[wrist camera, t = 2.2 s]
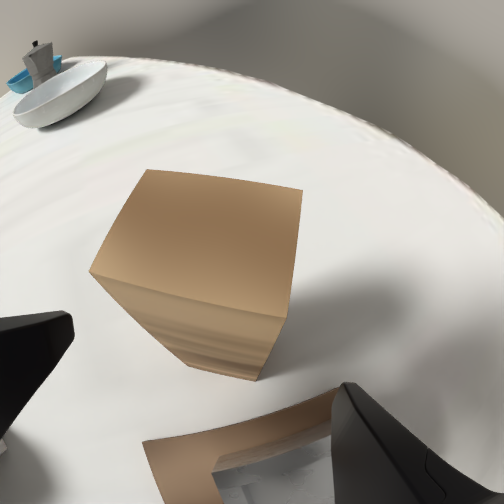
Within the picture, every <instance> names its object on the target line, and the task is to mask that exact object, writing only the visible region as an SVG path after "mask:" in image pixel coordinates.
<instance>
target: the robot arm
mask: <svg viewBox="0 0 504 504" xmlns="http://www.w3.org/2000/svg"><path fill="white" fill-rule="evenodd" d="M74 337H75V333H74V326H73V319H72V316H71V315H70V314H69V313H67V312H65V311H62V310H61V311H53V312H45V313H37V314H29V315H21V316H12V317H3V318H0V440H1V439H2V437H3V436H4V434H5V433H6V431H7V430H8V429H9V427H10V426H11V424H12V423H13V421H14V420H15V419H16V417H17V416H18V415H19V413H20V412H21V410H22V409H23V408H24V406H25V405H26V404H27V402H28V401H29V400H30V399H31V397H32V396H33V395H34V393H35V392H36V391H37V389H38V388H39V387H40V386H41V384H42V383H43V382H44V381H45V379H46V378H47V377H48V376H49V375H50V373H51V372H52V371H53V369H54V368H55V367H56V365H57V364H58V362H59V361H60V359H61V358H62V356H63V355H64V353H65V352H66V350H67V349H68V347H69V346H70V345H71V343H72V342H73V340H74ZM331 459H332V470H333V483H334V499H335V504H504V493H497V492H493V491H490V490H488V489H486V488H485V487H483V486H482V485H480V484H478V483H477V482H475V481H473V480H472V479H470V478H469V477H467V476H466V475H464V474H462V473H461V472H459V471H458V470H457V469H455V468H454V467H452V466H451V465H449V464H448V463H447V462H446V461H444V460H443V459H442V458H440V457H439V456H438V455H437V454H436V453H434V452H433V451H432V450H431V449H430V448H428V447H427V446H426V445H425V444H424V443H423V442H421V441H420V440H419V439H418V438H417V437H416V436H414V435H413V434H412V433H411V432H410V431H409V430H408V429H406V428H405V427H404V426H403V425H402V424H401V423H400V422H398V421H397V420H396V419H395V418H394V417H393V416H392V415H391V414H389V413H388V412H387V411H386V410H385V409H384V408H383V407H382V406H380V405H379V404H378V403H377V402H376V401H375V400H374V399H373V398H372V397H370V396H369V395H368V394H367V393H366V392H365V391H364V390H363V389H362V388H361V387H359V386H358V385H357V384H356V383H349V382H344V383H342V384H341V385H340V387H339V390H338V392H337V394H336V396H335V398H334V401H333V403H332V417H331Z"/></svg>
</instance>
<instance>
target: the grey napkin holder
mask: <svg viewBox="0 0 504 504" xmlns="http://www.w3.org/2000/svg"><path fill="white" fill-rule="evenodd" d="M6 450H7V447H6V444H5V442H4V441H3V439H1V440H0V455H1V454H3V453H4V452H5V451H6Z"/></svg>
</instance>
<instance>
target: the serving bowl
mask: <svg viewBox="0 0 504 504" xmlns="http://www.w3.org/2000/svg"><path fill="white" fill-rule="evenodd" d="M106 76H107V63H106V62H105V61H93V62H89V63H85V64H82V65H79V66H76V67H74V68H71V69H69V70H66V71H64V72H62V73H60V74H58V75H56V76H54V77H52V78H51V79H49V80H47V81H46V82H44V83H42V84H41V85H39V86H38V87H37V88H35V89H34V90H33V91H31V92H30V93H29V94H28V95H26V96H25V97H24V98H23V99H22V100H21V101H20V102H19V103H18V104H17V105H16V107H15V108H14V110H13V116H14V118H15V119H16V121H17V122H18V123H19V124H21V125H22V126H24V127H27V128H41V127H44V126H48V125H50V124H53V123H55V122H58V121H60V120H62V119H64V118H66V117H68V116H70V115H72V114H73V113H75V112H76V111H78V110H79V109H80V108H82V107H83V106H85V105H86V104H87V103H88V102H90V101H91V100H92V99H93V98H94V97H95V96H96V95H97V94H98V93H99V91H100V90H101V88H102V87H103V85H104V83H105V80H106Z"/></svg>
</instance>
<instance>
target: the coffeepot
mask: <svg viewBox="0 0 504 504" xmlns="http://www.w3.org/2000/svg"><path fill="white" fill-rule="evenodd" d="M32 44H33V46H34V48H33V49H32V50H31V51H30V52H29V53H28V54H26V55H25V56H24V57H23V61H24V63H25V65H26V67H27V70H28V72H29V74H30V76H32V80H33V87H34V89H35V88H37V87H38V86H39V85H41V84H42V83H44V82H46V81H47V80H49V79H51V78H52V77H54V76H56V75H57V73H56V71H55V69H54V67H53V63H54V61H53V48H52V43H47V44H43V45H38V41H34V42H33V43H32Z"/></svg>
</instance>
